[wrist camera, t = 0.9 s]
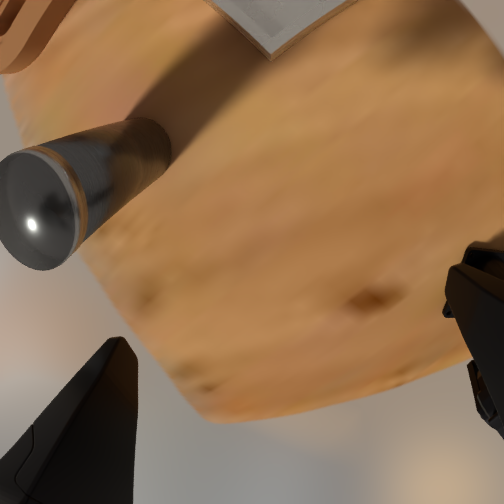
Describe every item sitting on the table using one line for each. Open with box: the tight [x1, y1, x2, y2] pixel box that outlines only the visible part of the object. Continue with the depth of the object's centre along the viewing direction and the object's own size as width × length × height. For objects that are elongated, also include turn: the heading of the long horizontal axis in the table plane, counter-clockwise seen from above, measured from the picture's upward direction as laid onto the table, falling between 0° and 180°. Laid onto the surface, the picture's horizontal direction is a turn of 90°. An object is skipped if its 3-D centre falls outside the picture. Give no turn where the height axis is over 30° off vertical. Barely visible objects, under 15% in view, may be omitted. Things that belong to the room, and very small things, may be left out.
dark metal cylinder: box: [0, 118, 171, 271], centre depth 14 cm, size 4×4×11 cm
